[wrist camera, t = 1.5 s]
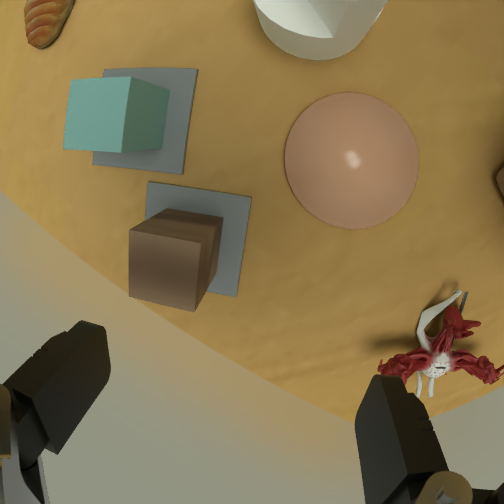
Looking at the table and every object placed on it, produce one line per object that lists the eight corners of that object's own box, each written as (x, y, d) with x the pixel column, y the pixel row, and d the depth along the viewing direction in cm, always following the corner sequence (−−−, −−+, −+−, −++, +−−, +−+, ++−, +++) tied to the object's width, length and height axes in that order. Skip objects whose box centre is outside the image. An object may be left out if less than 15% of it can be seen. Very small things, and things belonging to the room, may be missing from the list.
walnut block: (166, 207, 27) (129, 229, 20) (223, 217, 27) (200, 243, 20) (163, 262, 29) (128, 296, 22) (216, 272, 28) (194, 312, 22)
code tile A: (149, 181, 27) (147, 182, 26) (252, 196, 26) (251, 197, 26) (144, 275, 30) (142, 277, 29) (236, 295, 29) (235, 297, 29)
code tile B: (106, 70, 24) (103, 69, 23) (198, 69, 23) (196, 68, 23) (94, 164, 27) (92, 164, 26) (183, 174, 26) (181, 174, 26)
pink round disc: (296, 80, 23) (296, 79, 22) (426, 113, 22) (428, 113, 21) (274, 213, 26) (273, 214, 26) (399, 238, 26) (401, 241, 25)
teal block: (118, 89, 24) (71, 80, 17) (170, 90, 24) (131, 76, 17) (111, 144, 26) (63, 149, 19) (161, 148, 25) (121, 152, 19)
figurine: (506, 287, 26) (540, 317, 19) (467, 375, 30) (488, 413, 23) (387, 269, 27) (410, 305, 21) (354, 372, 31) (363, 418, 25)
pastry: (71, 41, 23) (48, 34, 19) (28, 56, 24) (5, 52, 20) (86, -31, 20) (67, -43, 16) (42, -13, 21) (22, -21, 17)
